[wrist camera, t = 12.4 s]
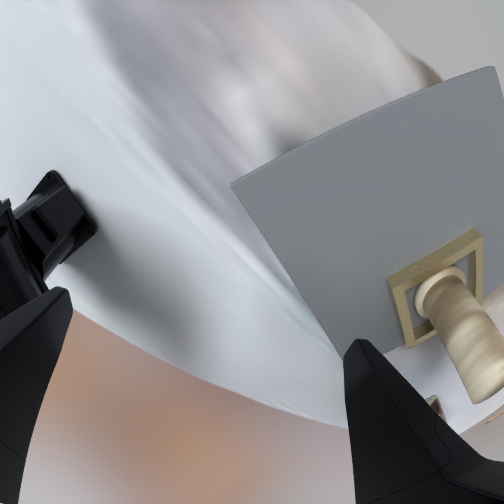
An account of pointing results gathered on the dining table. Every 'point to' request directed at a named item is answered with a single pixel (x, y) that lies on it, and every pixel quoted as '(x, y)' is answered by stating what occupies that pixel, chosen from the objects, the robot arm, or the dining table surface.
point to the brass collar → (428, 267)
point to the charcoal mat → (385, 203)
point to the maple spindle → (463, 331)
